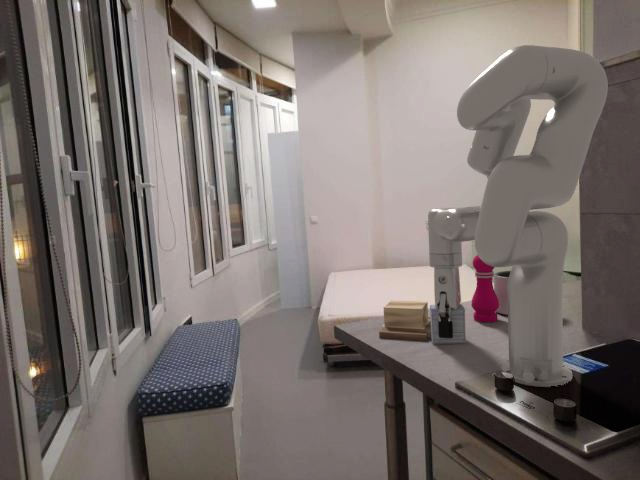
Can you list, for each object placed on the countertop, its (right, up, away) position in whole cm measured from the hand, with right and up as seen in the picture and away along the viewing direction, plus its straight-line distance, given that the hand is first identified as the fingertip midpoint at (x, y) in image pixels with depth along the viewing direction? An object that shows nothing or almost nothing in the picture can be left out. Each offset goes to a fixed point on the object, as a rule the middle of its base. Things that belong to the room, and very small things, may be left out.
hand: (447, 332), depth 115 cm
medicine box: (0, -2, 0) cm, 2 cm away
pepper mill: (+15, 0, +17) cm, 22 cm away
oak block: (-8, 0, +12) cm, 14 cm away
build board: (-7, -1, +11) cm, 13 cm away
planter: (+26, +1, +22) cm, 35 cm away
